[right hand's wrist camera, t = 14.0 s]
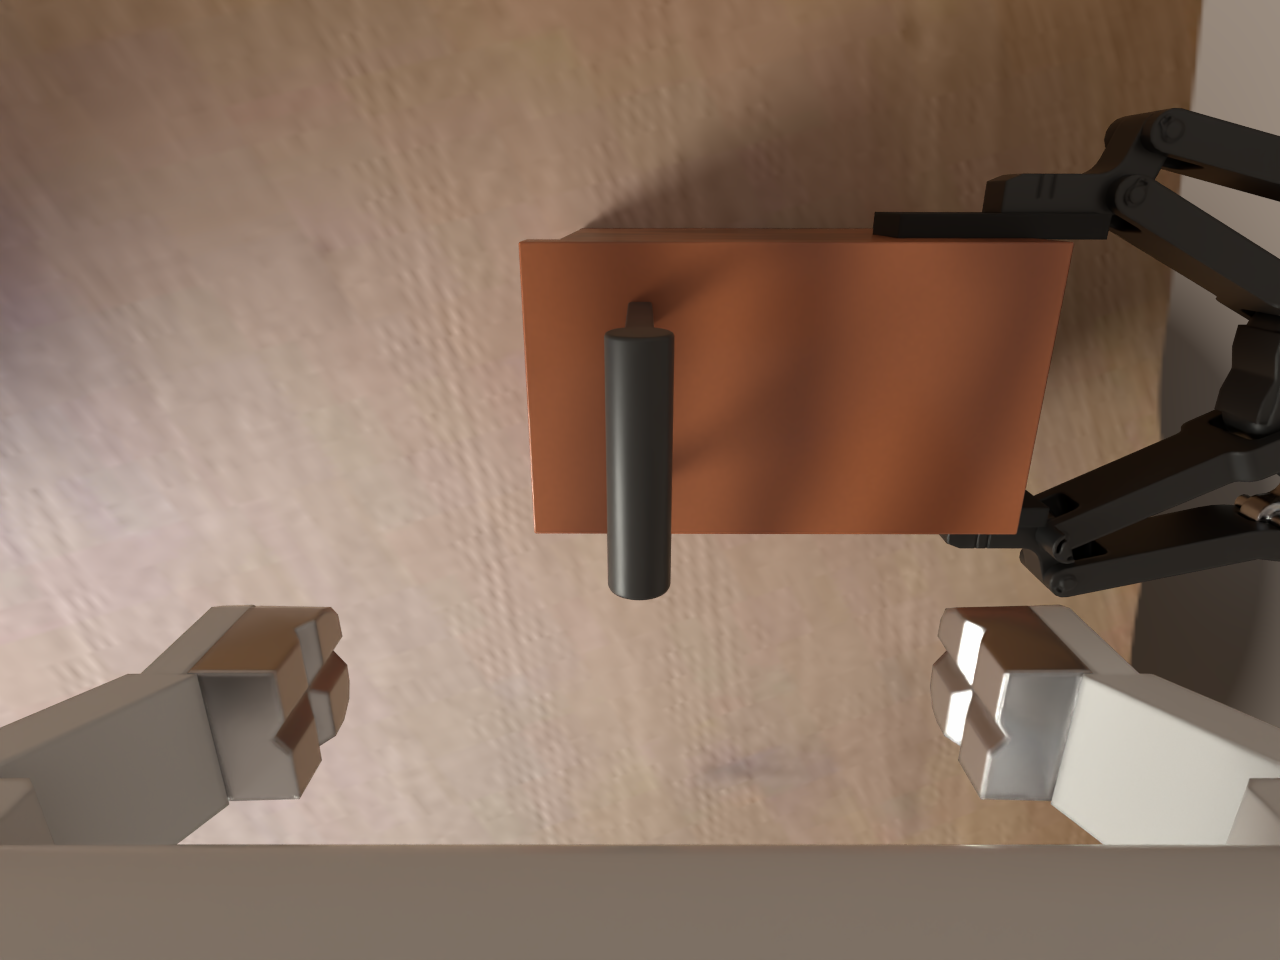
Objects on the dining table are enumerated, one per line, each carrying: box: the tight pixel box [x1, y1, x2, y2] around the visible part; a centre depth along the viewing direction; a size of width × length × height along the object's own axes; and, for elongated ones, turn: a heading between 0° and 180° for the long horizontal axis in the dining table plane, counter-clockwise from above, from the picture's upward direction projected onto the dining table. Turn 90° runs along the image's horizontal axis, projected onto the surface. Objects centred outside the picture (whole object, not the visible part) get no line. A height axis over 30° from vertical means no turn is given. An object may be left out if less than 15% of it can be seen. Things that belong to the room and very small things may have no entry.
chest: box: [560, 228, 1045, 240], centre depth 28 cm, size 15×9×9 cm, turn 90°
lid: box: [519, 239, 1074, 600], centre depth 20 cm, size 16×9×8 cm, turn 90°
